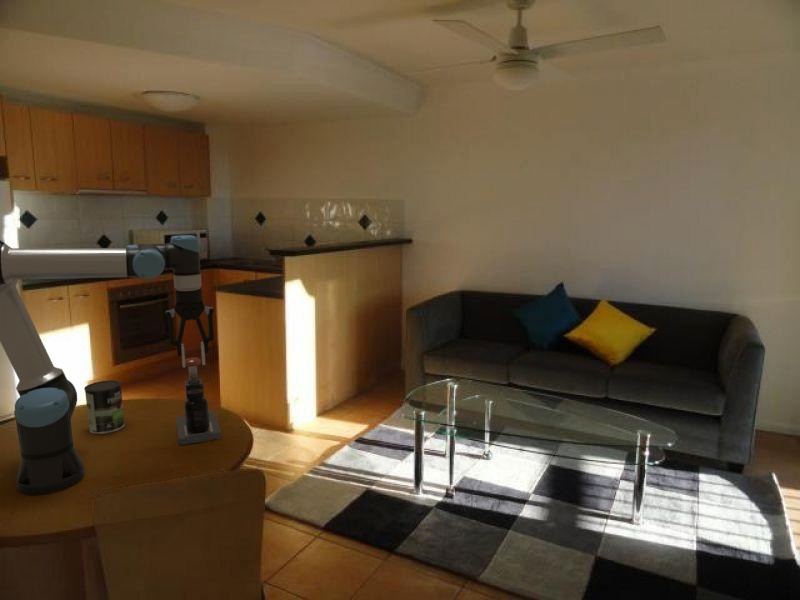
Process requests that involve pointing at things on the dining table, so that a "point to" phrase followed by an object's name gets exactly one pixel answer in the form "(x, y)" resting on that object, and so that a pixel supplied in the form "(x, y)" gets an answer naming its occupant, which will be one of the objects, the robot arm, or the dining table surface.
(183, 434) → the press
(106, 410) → the coffee can
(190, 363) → the plunger
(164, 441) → the dining table surface
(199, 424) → the supplement bottle
